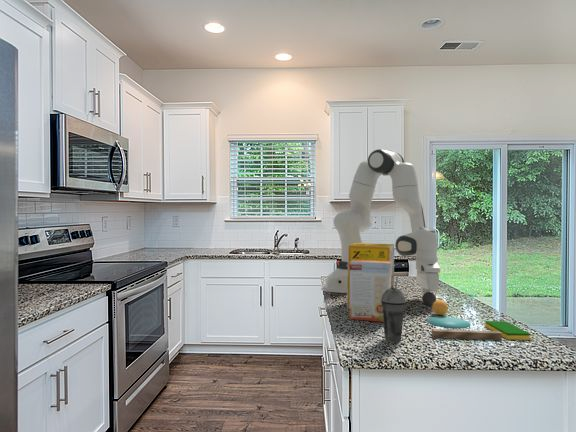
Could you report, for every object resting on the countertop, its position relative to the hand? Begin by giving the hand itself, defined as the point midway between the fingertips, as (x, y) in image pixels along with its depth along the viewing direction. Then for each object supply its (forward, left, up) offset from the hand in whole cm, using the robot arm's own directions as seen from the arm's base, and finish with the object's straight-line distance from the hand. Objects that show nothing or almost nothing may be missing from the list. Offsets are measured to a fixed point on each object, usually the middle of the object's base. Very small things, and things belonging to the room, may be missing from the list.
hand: (426, 297), depth 170 cm
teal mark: (-1, -31, -2) cm, 31 cm away
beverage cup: (-24, -53, -2) cm, 58 cm away
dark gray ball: (-1, -6, +1) cm, 7 cm away
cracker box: (-28, -30, -2) cm, 41 cm away
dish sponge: (+14, -41, -3) cm, 44 cm away
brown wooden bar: (-1, -48, -2) cm, 48 cm away
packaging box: (-25, -9, -2) cm, 26 cm away
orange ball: (-1, -21, +1) cm, 21 cm away
